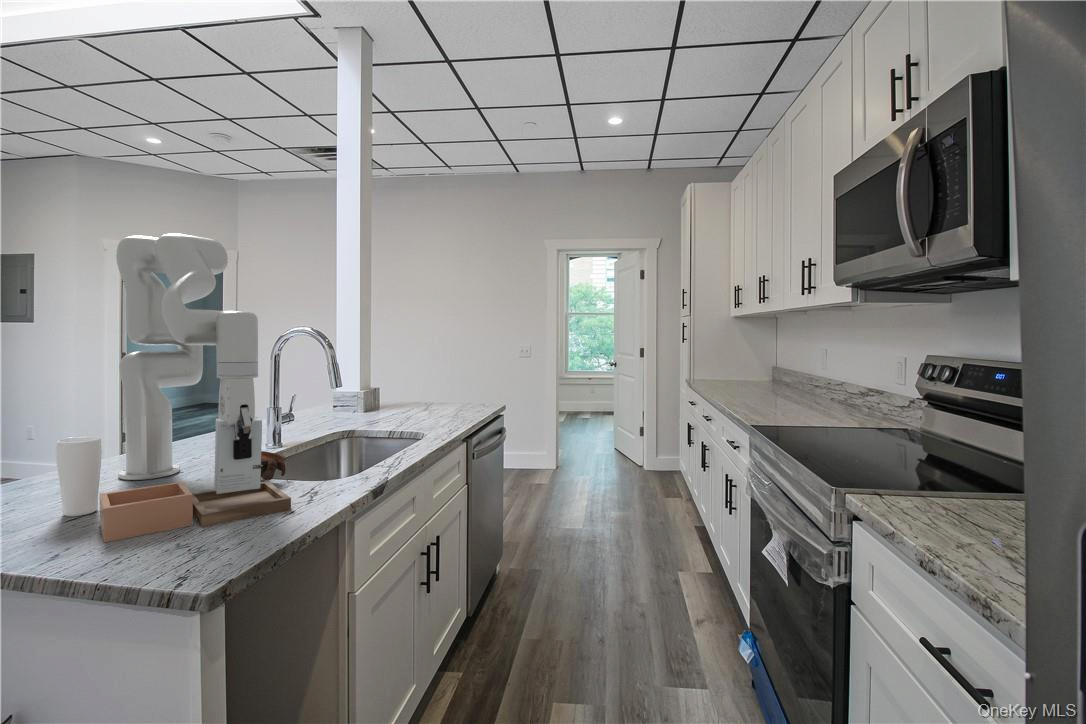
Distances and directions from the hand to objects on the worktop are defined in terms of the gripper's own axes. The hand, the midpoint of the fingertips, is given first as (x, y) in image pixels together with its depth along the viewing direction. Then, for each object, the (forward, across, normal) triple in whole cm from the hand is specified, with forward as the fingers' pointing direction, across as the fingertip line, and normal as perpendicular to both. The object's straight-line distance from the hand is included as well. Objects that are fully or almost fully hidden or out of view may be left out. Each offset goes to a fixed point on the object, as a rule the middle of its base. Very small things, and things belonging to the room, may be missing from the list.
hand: (238, 454), depth 109 cm
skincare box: (+7, 0, 0) cm, 7 cm away
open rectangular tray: (+11, 0, -16) cm, 19 cm away
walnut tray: (+11, 0, 0) cm, 11 cm away
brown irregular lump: (+12, -19, +10) cm, 25 cm away
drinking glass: (+12, -16, -24) cm, 31 cm away
